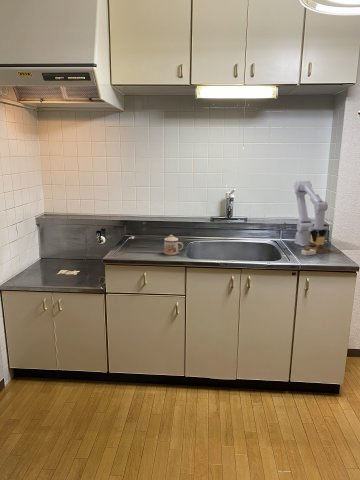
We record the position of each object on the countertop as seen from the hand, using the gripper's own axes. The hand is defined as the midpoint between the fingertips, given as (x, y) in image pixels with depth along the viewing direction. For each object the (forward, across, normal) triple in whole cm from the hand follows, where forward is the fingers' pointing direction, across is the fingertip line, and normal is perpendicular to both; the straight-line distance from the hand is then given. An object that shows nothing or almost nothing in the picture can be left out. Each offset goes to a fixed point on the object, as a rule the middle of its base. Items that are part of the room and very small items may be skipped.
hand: (317, 241), depth 238 cm
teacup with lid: (+6, -91, +23) cm, 94 cm away
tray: (+6, 0, 0) cm, 6 cm away
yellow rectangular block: (+1, 0, 0) cm, 1 cm away
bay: (+6, -11, -5) cm, 14 cm away
